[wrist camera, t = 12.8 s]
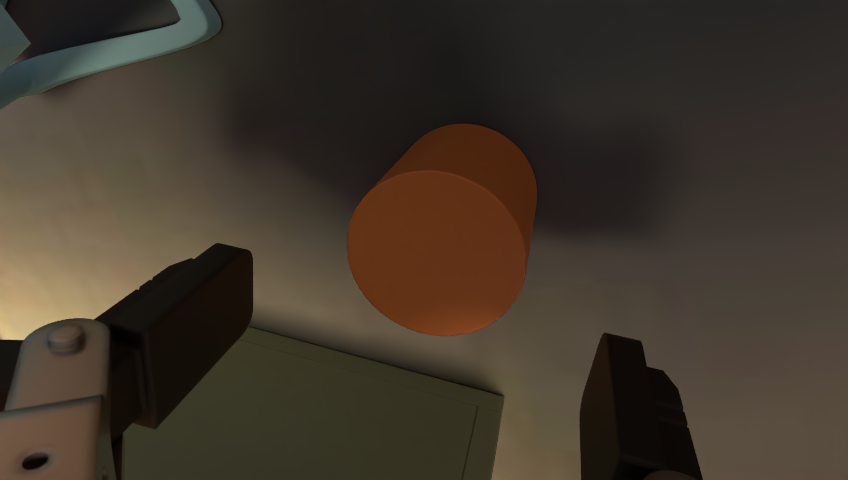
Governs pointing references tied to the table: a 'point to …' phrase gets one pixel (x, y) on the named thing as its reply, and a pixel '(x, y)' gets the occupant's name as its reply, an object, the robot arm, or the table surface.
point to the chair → (96, 51)
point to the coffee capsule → (446, 232)
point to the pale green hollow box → (317, 421)
